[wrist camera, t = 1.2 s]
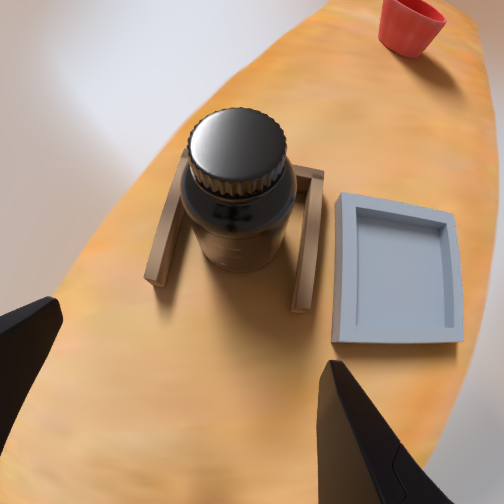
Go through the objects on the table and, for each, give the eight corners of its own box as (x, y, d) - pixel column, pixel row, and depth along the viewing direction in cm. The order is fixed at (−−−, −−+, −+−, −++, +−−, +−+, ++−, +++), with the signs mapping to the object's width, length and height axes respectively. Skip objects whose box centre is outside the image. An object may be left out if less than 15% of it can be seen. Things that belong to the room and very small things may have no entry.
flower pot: (435, 58, 37) (455, 20, 28) (411, 70, 35) (434, 24, 25) (388, 26, 40) (402, -12, 30) (358, 34, 37) (372, -12, 28)
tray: (449, 343, 22) (463, 341, 20) (330, 342, 22) (339, 341, 20) (442, 222, 26) (453, 213, 24) (334, 203, 26) (341, 191, 24)
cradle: (303, 313, 23) (310, 309, 21) (152, 285, 23) (143, 277, 21) (317, 186, 27) (324, 170, 24) (188, 164, 27) (184, 148, 24)
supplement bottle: (225, 185, 26) (218, 79, 15) (295, 221, 25) (332, 125, 14) (181, 249, 24) (137, 163, 13) (255, 291, 23) (268, 231, 12)
